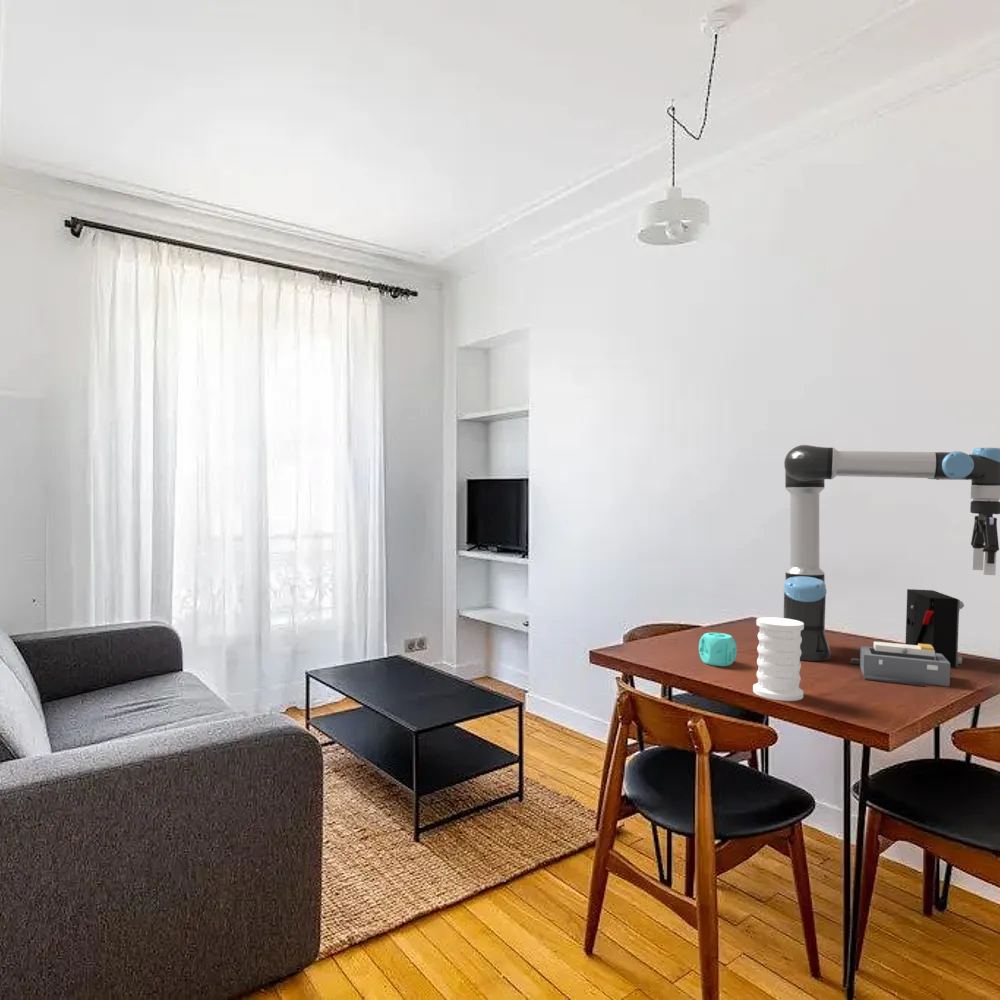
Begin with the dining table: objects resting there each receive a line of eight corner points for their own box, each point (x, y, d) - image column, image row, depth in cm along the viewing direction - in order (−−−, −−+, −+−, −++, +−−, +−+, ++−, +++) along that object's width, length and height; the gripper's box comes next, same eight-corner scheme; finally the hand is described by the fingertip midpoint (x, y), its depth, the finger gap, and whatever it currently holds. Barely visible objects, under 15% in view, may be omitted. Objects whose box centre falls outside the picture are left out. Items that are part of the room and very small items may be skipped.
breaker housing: (863, 676, 188) (864, 654, 188) (859, 666, 199) (860, 645, 199) (949, 686, 180) (950, 663, 180) (940, 675, 191) (941, 653, 191)
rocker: (875, 651, 190) (875, 643, 190) (873, 646, 195) (873, 638, 195) (935, 657, 184) (935, 648, 184) (930, 652, 190) (931, 644, 190)
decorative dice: (710, 666, 196) (711, 638, 196) (698, 659, 204) (698, 632, 204) (736, 666, 197) (737, 638, 197) (723, 659, 205) (724, 632, 205)
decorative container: (767, 684, 179) (769, 615, 179) (811, 695, 170) (814, 622, 170) (744, 692, 171) (746, 620, 171) (789, 704, 163) (791, 628, 162)
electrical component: (964, 668, 200) (966, 599, 199) (925, 665, 202) (927, 597, 201) (938, 654, 217) (940, 590, 217) (902, 651, 219) (904, 589, 219)
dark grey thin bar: (864, 679, 185) (864, 676, 185) (864, 678, 186) (864, 675, 186) (925, 686, 180) (925, 683, 180) (924, 685, 180) (924, 682, 180)
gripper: (1014, 501, 190) (1011, 578, 191) (990, 500, 213) (987, 568, 214) (981, 500, 193) (978, 576, 194) (961, 499, 216) (958, 567, 217)
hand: (983, 572), depth 204 cm, fingers open, 13 cm apart
